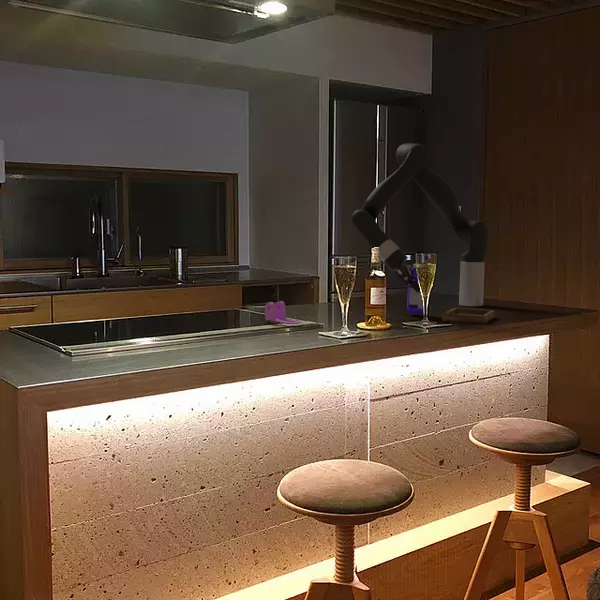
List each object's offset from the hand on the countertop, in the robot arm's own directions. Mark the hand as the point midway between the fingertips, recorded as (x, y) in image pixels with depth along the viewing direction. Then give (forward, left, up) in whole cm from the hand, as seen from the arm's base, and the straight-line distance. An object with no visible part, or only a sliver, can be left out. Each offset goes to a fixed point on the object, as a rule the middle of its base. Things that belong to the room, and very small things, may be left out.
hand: (422, 290), depth 273 cm
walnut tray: (0, +16, -9) cm, 19 cm away
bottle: (0, -2, -8) cm, 9 cm away
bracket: (+41, -34, -10) cm, 54 cm away
